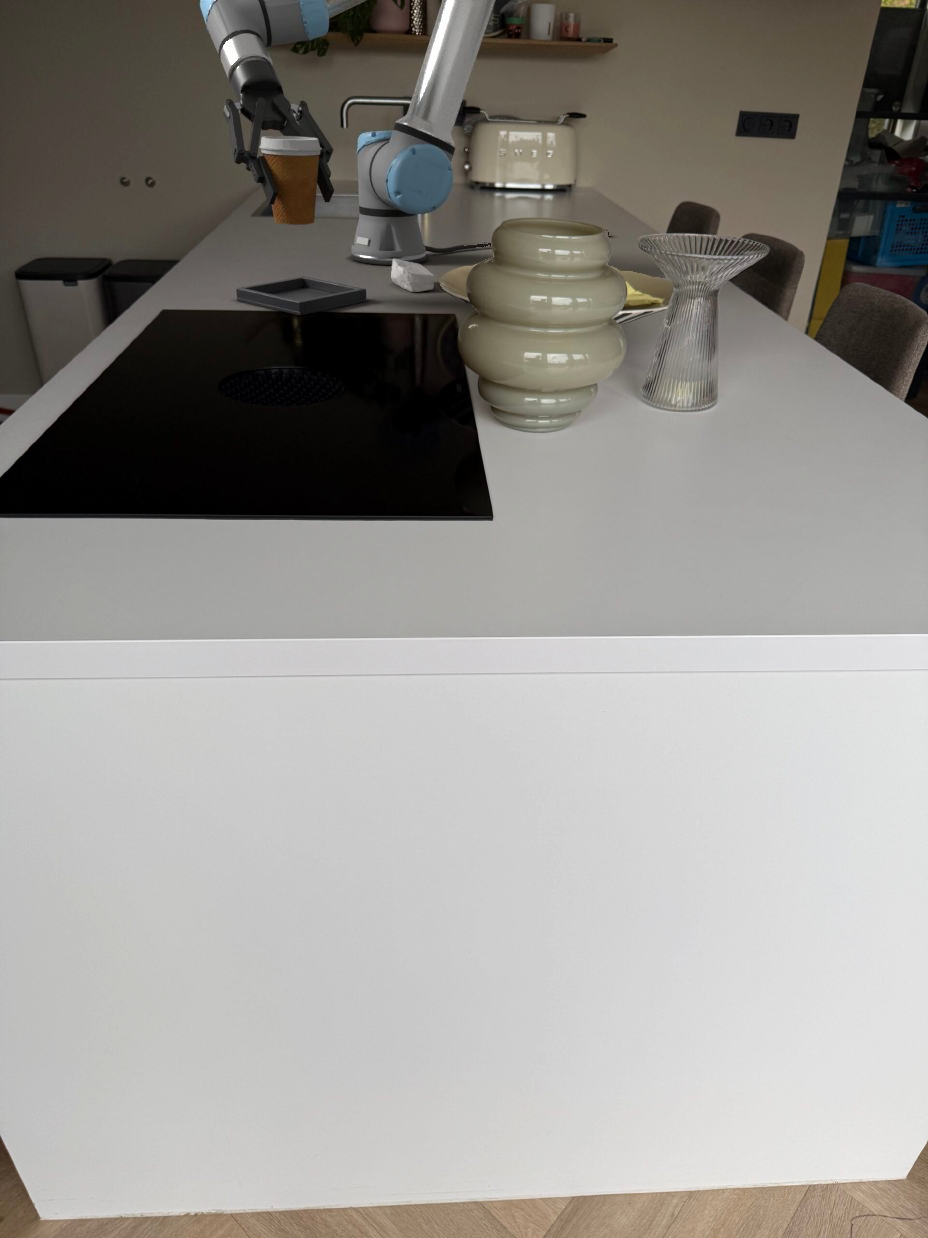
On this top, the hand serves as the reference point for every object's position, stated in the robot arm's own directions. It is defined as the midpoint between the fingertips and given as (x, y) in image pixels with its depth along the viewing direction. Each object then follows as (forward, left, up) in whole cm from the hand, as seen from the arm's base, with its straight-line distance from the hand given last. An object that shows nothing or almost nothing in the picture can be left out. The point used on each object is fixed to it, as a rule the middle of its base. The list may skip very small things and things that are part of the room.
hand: (302, 197), depth 142 cm
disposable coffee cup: (-1, -3, -4) cm, 5 cm away
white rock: (-22, +3, -16) cm, 28 cm away
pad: (0, -2, -16) cm, 16 cm away
